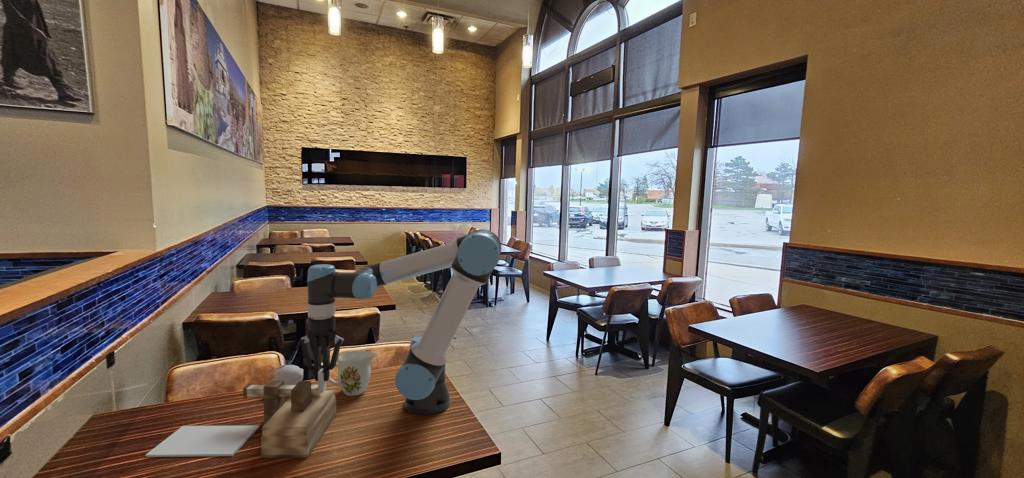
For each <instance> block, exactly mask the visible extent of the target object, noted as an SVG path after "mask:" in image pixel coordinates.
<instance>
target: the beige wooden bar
mask: <svg viewBox="0 0 1024 478" xmlns="http://www.w3.org/2000/svg"><path fill="white" fill-rule="evenodd" d="M265 385H266V384H252V383H251V382H250V383H249V382H248V384H246V385H245V386H244V387H243V388H242V395H243V396H242V397H243V399H247V398H250V397H252V398H253V397H255V398H256V397H257V398H258V397H260V398H261V397H262V398H264V391H263V387H264V386H265ZM295 386H296V385H281V386H280V387H279V388H278V392H279V397H285V398H286V397H289V398H290V397H291V390H292V389H293V388H294V387H295ZM320 394H321V393H318V384H311V397H318V396H319V395H320Z"/></svg>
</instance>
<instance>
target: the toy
mask: <svg viewBox="0 0 1024 478" xmlns="http://www.w3.org/2000/svg"><path fill="white" fill-rule="evenodd" d="M276 371H277V372H276ZM275 372H276V373H275ZM274 373H275V375H274V378H273V380H284V385H297V384H298V383H299V382H300V381H304V369H303V368H300V366H297V365H294V364H284V365H280V366H278V367H276V368H274V369H272V370H271V371H270V372H269V373H268V374H267V377H270V375H272V374H274Z"/></svg>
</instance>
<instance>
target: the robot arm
mask: <svg viewBox="0 0 1024 478" xmlns="http://www.w3.org/2000/svg"><path fill="white" fill-rule="evenodd" d="M499 238H500V237H498V235H497V234H496V233H494V232H493V231H492V230H488V229H486V228H485V229H483V228H482V229H476V230H474V231H473V232H471V233H468V234H465V235H463V236H460V237H456V238H455V240H454V241H453V242H450V243H447V244H442V245H439V246H436V247H435V246H434V247H432V248H428V249H424V250H421V251H417V252H413V253H409V254H407V255H406V254H405V255H402V256H399V257H395V258H392V259H388V260H385V261H381V262H379V263H373V264H372V263H371V264H368V265H365V266H364V267H362V268H360V269H358V270H356V271H353V272H337V271H336V267H335V266H334V264H333V265H332V264H327V263H326V264H325V263H323V264H322V263H321V264H314V265H311V266H310V267H308V268H307V269H308V270H307V280H306V282H307V316H308V318H307V330H308V331H307V332H306V335H305V336H302V337H301V338H300V339H299V340H298V343H299V344H300V345H301V347H302V350H303V354H304V358H305V361H306V365H307V368H308V370H310V371H311V370H313V371H314V380H315V382H317V385H318V393H323V392H324V391H325V390H327V382H328V379H329V376H330V371H332V370H333V369H335V367H336V362H337V361H338V360H339V356H340V355H339V354H340V350H341V347H342V344H343V342H344V341H345V337H344V336H343V337H341V336H339V335H338V333H337V330H336V315H335V314H336V299H337V298H339V299H354V300H355V299H356V300H366V299H372V298H374V296H375V294H376V293H377V288H379V287H383V286H387V285H389V284H393V283H396V282H400V281H404V280H408V279H411V278H415V277H419V276H423V275H426V274H430V273H434V272H437V271H441V270H445V269H448V268H451V270H452V274H451V277H450V279H449V281H448V283H447V284H446V287H445V289H444V291H443V293H442V295H441V297H440V299H439V302H437V305H436V308H435V309H434V312H433V313H432V316H431V318H430V319H429V321H428V324H427V326H426V328H425V329H424V331H423V334H422V335H421V336H417V337H414V338H412V339H411V340H410V344H409V351H407V354H406V356H405V359H403V363H402V365H401V366H400V367H399V368H398V370H396V375H395V377H394V379H395V380H394V382H395V387H396V389H397V391H398V393H399V394H400V395H402V396H403V397H404V408H405V410H406V411H407V412H409V413H411V414H414V415H419V416H429V415H435V414H438V413H441V412H444V411H445V410H446V409H448V408H449V407H450V405H451V395H450V392H449V389H448V385H447V383H446V363H447V361H448V360H447V356H446V354H447V350H448V348H449V347H450V345H451V342H452V340H453V338H454V337H455V335H456V332H457V330H458V329H459V326H460V325H461V323H462V321H463V319H464V317H465V315H466V313H467V311H468V309H469V308H470V307H469V306H470V305H471V303H472V301H473V299H474V297H475V295H476V293H477V292H478V289H479V287H480V286H483V285H486V284H487V283H488V281H489V279H490V277H491V275H492V272H493V271H494V269H495V268H496V267H497V266H498V263H499V262H500V259H501V251H502V244H501V240H500V239H499ZM333 341H334V348H333V351H332V355H330V354H331V344H332V342H333ZM311 344H312V345H313V349H312V347H311ZM312 350H313V351H312ZM337 363H338V362H337Z"/></svg>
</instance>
